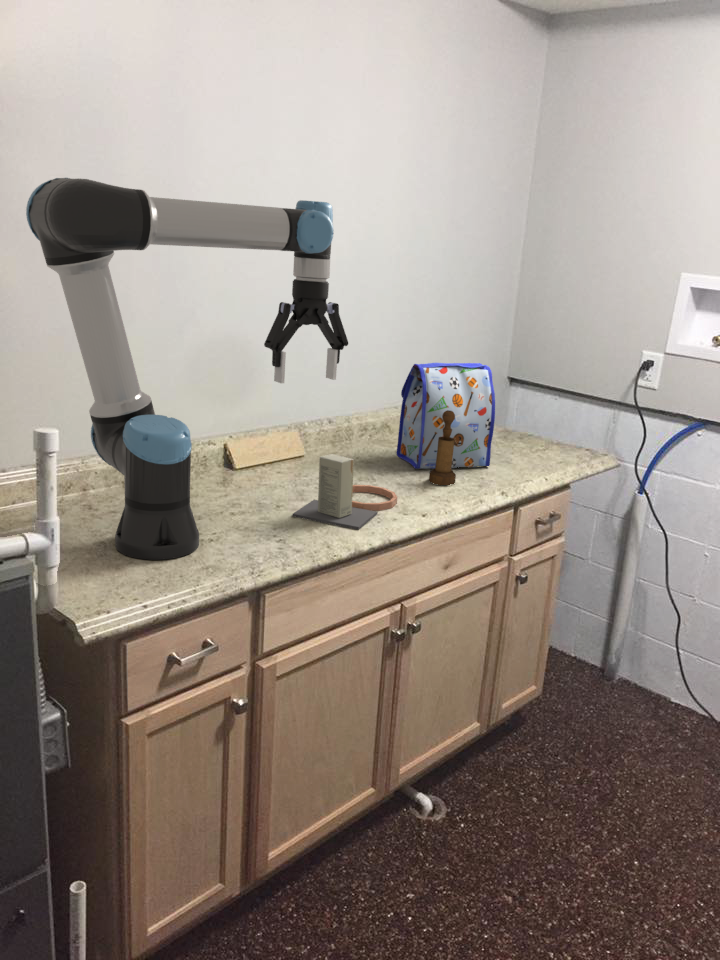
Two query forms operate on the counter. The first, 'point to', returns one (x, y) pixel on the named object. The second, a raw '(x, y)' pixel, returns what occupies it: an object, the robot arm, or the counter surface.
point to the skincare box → (335, 485)
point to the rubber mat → (350, 521)
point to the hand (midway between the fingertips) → (305, 380)
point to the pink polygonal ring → (375, 490)
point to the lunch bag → (437, 393)
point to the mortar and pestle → (444, 454)
